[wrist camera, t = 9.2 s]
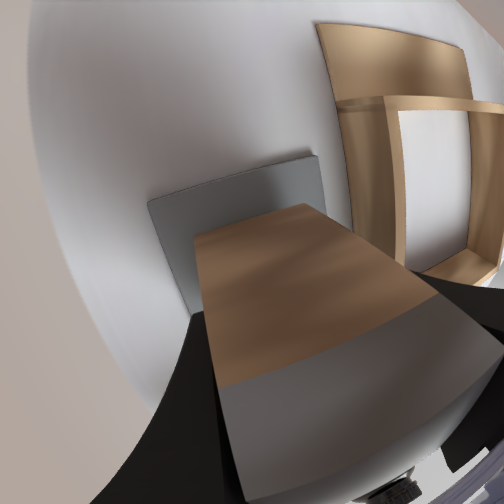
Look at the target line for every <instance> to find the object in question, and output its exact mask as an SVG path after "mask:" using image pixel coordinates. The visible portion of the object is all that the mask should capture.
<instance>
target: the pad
mask: <svg viewBox="0 0 504 504" xmlns="http://www.w3.org/2000/svg"><path fill="white" fill-rule="evenodd" d="M301 203H306V204H308V205H309V206H311V207H313V208H314V209H316V210H318V211H319V212H321V213H323V214H324V215H326V216H327V213H326V206H325V199H324V192H323V185H322V179H321V173H320V166H319V161H318V156H316V155H312V156H307V157H303V158H298V159H294V160H290V161H285V162H281V163H277V164H273V165H269V166H265V167H261V168H257V169H253V170H249V171H246V172H242V173H238V174H235V175H231V176H228V177H224V178H221V179H217V180H214V181H211V182H207V183H204V184H201V185H197V186H194V187H191V188H188V189H185V190H182V191H179V192H176V193H173V194H170V195H167V196H164V197H161V198H158V199H155V200H152V201H149V202H147V207H148V210H149V213H150V215H151V218H152V221H153V224H154V226H155V229H156V232H157V235H158V237H159V240H160V242H161V245H162V248H163V250H164V253H165V255H166V258H167V260H168V263H169V265H170V268H171V270H172V273H173V275H174V278H175V280H176V282H177V285H178V287H179V289H180V292H181V294H182V296H183V299H184V301H185V303H186V305H187V308H188V310H189V312H190V314H191V316H192V315H193V314H194V313H197V312H200V311H203V304H202V298H201V291H200V284H199V277H198V270H197V263H196V255H195V247H194V239H193V236H196V235H199V234H202V233H205V232H208V231H211V230H214V229H218V228H221V227H224V226H227V225H230V224H234V223H237V222H240V221H244V220H247V219H250V218H253V217H257V216H260V215H263V214H267V213H270V212H274V211H277V210H280V209H284V208H287V207H291V206H294V205H298V204H301Z"/></svg>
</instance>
